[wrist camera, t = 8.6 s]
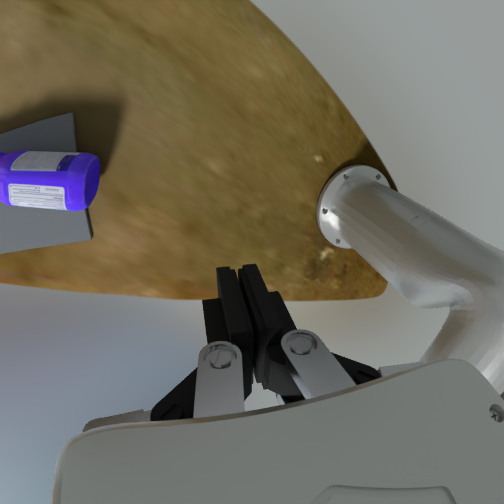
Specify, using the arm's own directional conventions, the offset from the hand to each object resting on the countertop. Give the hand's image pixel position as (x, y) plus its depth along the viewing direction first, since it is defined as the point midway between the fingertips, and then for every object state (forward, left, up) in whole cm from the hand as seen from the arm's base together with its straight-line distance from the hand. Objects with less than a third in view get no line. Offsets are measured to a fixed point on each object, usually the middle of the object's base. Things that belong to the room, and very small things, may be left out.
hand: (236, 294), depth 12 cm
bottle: (+11, -1, -20) cm, 23 cm away
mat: (+24, -1, -24) cm, 34 cm away
